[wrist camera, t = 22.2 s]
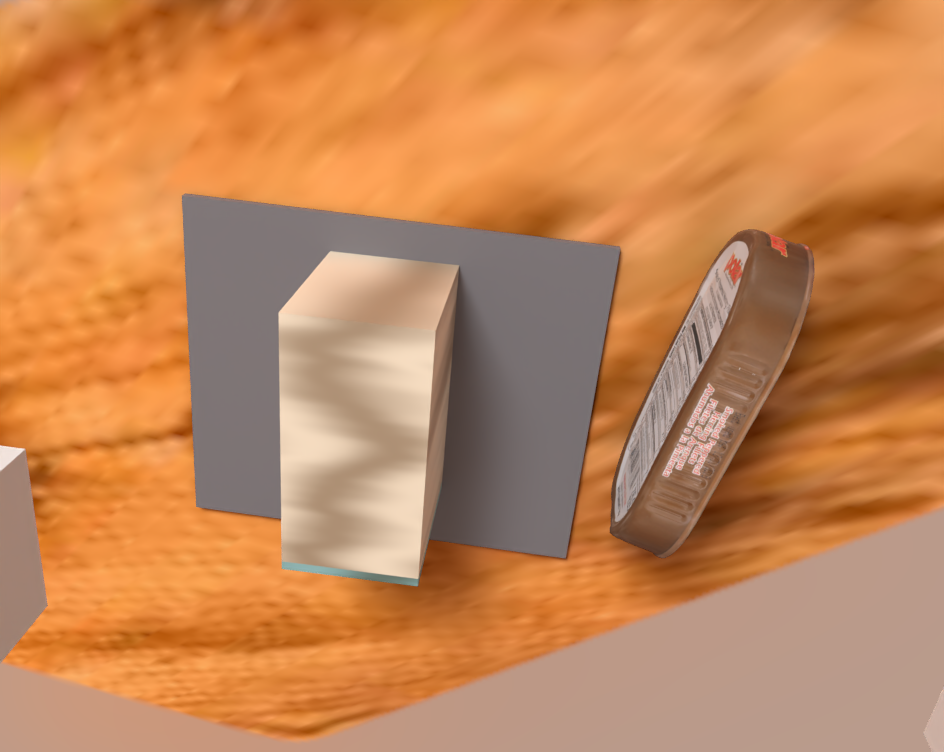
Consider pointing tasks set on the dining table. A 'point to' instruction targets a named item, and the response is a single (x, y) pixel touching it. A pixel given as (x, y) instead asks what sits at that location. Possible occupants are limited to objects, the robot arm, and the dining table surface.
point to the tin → (710, 388)
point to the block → (364, 414)
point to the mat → (472, 369)
